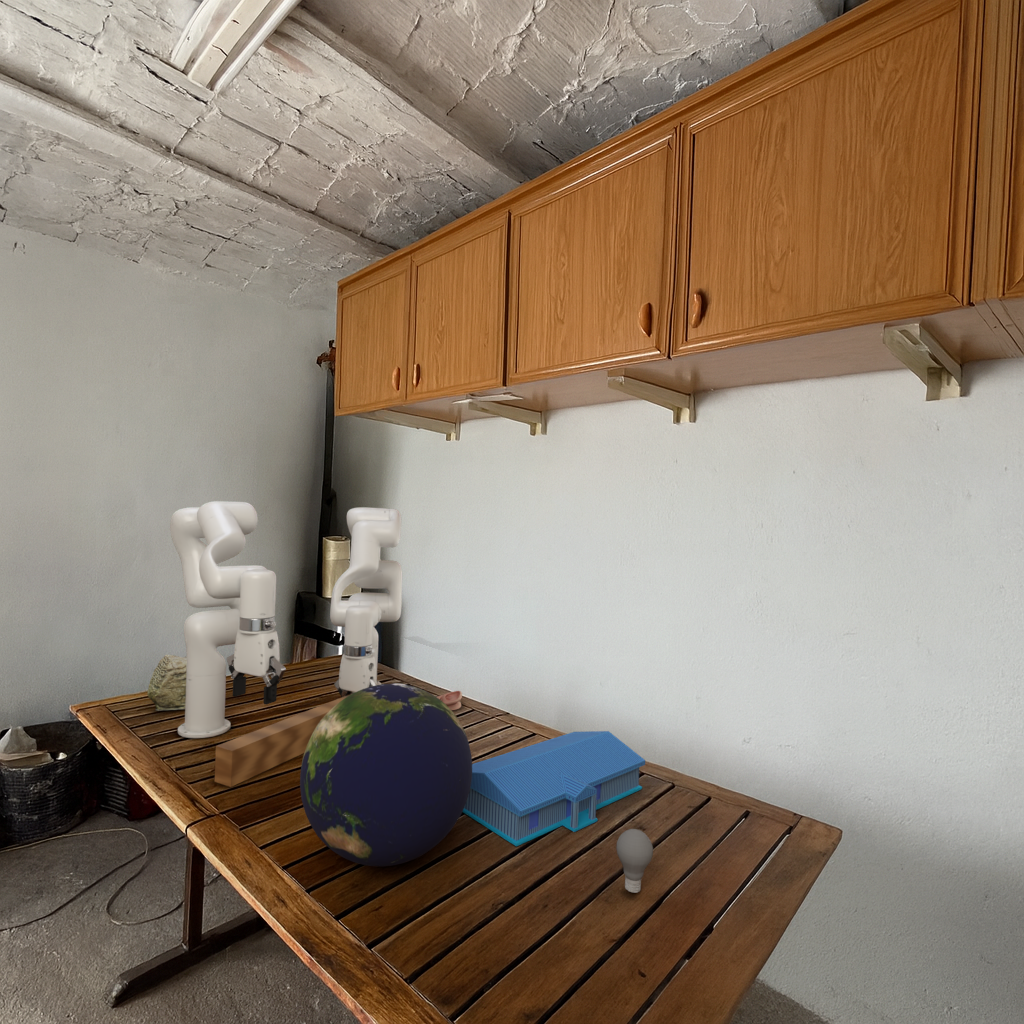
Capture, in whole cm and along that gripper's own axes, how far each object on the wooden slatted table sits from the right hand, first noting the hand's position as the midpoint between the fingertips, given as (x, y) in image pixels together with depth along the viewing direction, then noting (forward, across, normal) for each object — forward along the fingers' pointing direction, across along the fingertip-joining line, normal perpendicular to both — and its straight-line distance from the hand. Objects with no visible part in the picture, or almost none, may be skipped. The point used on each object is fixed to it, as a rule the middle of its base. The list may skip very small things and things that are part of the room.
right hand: (355, 714), depth 177 cm
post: (+3, 0, +18) cm, 18 cm away
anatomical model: (+3, -12, -25) cm, 28 cm away
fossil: (+3, +51, +15) cm, 53 cm away
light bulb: (+3, -89, +36) cm, 96 cm away
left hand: (-14, 0, +36) cm, 38 cm away
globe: (+3, -47, +48) cm, 67 cm away
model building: (+3, -65, +12) cm, 66 cm away
